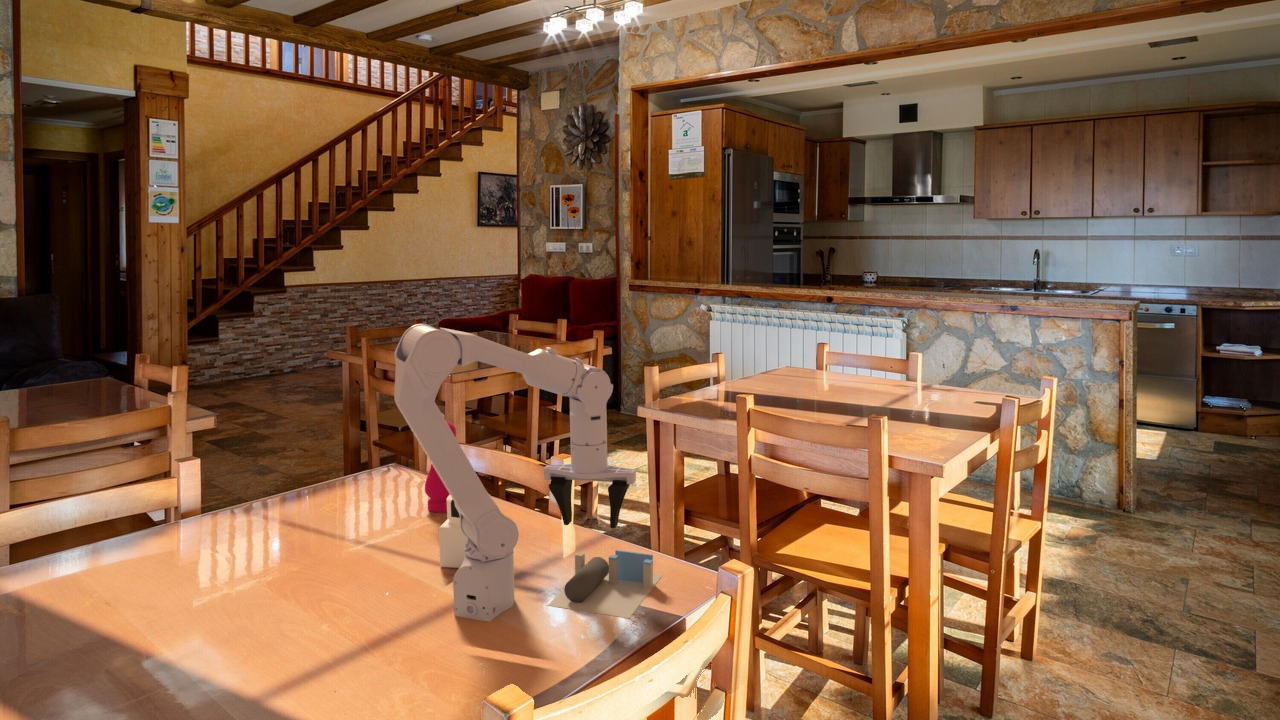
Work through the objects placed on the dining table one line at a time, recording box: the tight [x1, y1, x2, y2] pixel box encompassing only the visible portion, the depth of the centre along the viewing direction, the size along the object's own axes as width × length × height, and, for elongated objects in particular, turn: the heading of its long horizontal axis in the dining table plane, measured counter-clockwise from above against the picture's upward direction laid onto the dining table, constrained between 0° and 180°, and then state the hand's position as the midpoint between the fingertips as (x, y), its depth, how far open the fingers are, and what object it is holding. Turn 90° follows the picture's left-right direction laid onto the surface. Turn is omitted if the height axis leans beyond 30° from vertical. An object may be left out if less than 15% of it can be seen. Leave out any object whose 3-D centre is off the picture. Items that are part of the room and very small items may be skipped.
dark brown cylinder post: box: [563, 556, 609, 603], centre depth 129 cm, size 10×4×4 cm, turn 161°
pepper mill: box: [424, 413, 457, 514], centre depth 169 cm, size 7×7×20 cm
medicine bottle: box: [438, 495, 468, 569], centre depth 142 cm, size 7×7×12 cm
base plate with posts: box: [546, 549, 663, 619], centre depth 128 cm, size 16×13×6 cm
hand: (590, 524), depth 131 cm, fingers open, 7 cm apart
